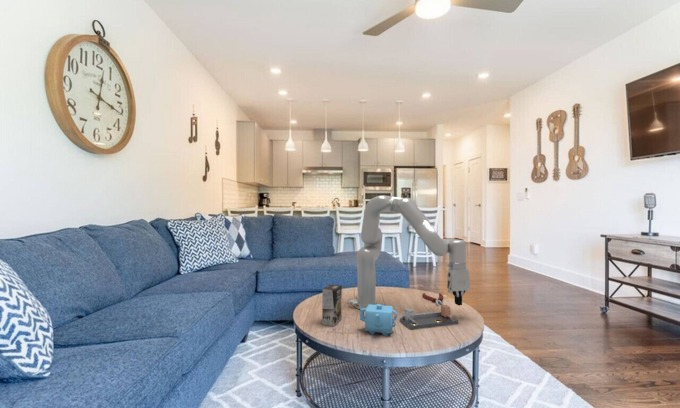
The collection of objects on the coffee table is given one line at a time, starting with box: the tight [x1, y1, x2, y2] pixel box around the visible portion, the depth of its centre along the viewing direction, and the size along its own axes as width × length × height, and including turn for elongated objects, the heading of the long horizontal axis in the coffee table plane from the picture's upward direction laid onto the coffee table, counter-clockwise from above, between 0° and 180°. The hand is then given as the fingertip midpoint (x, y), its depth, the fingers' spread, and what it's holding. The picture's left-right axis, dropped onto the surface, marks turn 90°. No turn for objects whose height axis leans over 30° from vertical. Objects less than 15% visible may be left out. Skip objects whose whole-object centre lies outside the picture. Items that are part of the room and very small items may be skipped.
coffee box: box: [321, 284, 343, 327], centre depth 143 cm, size 9×6×16 cm
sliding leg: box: [440, 304, 453, 318], centre depth 145 cm, size 3×6×4 cm, turn 16°
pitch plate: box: [399, 307, 459, 331], centre depth 142 cm, size 24×10×6 cm, turn 106°
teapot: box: [359, 303, 398, 337], centre depth 132 cm, size 16×18×11 cm
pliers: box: [422, 292, 444, 307], centre depth 174 cm, size 12×20×3 cm, turn 178°
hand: (458, 304), depth 148 cm, fingers closed
